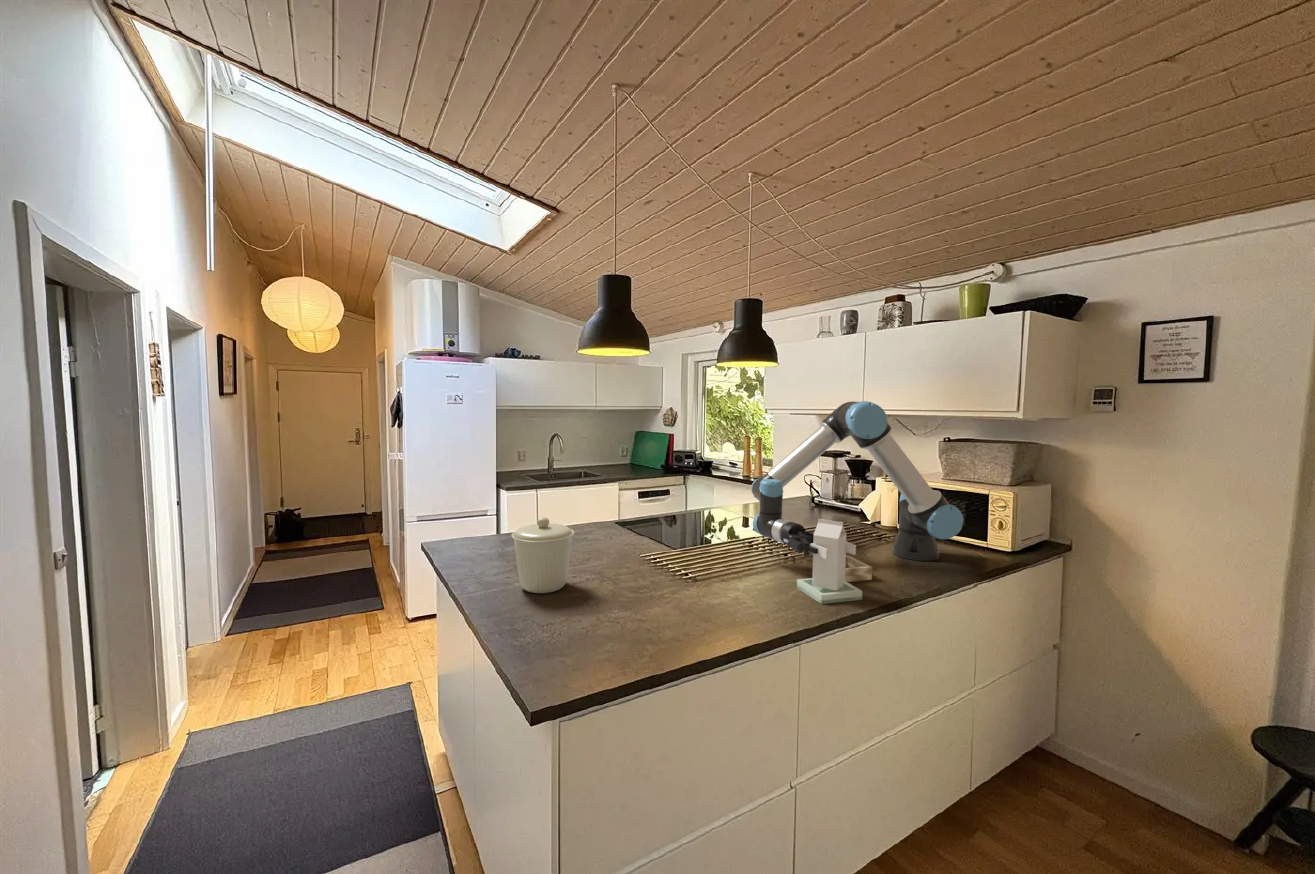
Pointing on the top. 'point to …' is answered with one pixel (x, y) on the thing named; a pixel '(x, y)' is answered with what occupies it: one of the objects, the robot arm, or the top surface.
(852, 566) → the holder
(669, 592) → the top surface
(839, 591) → the tray
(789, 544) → the robot arm
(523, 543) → the canister
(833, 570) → the milk carton
